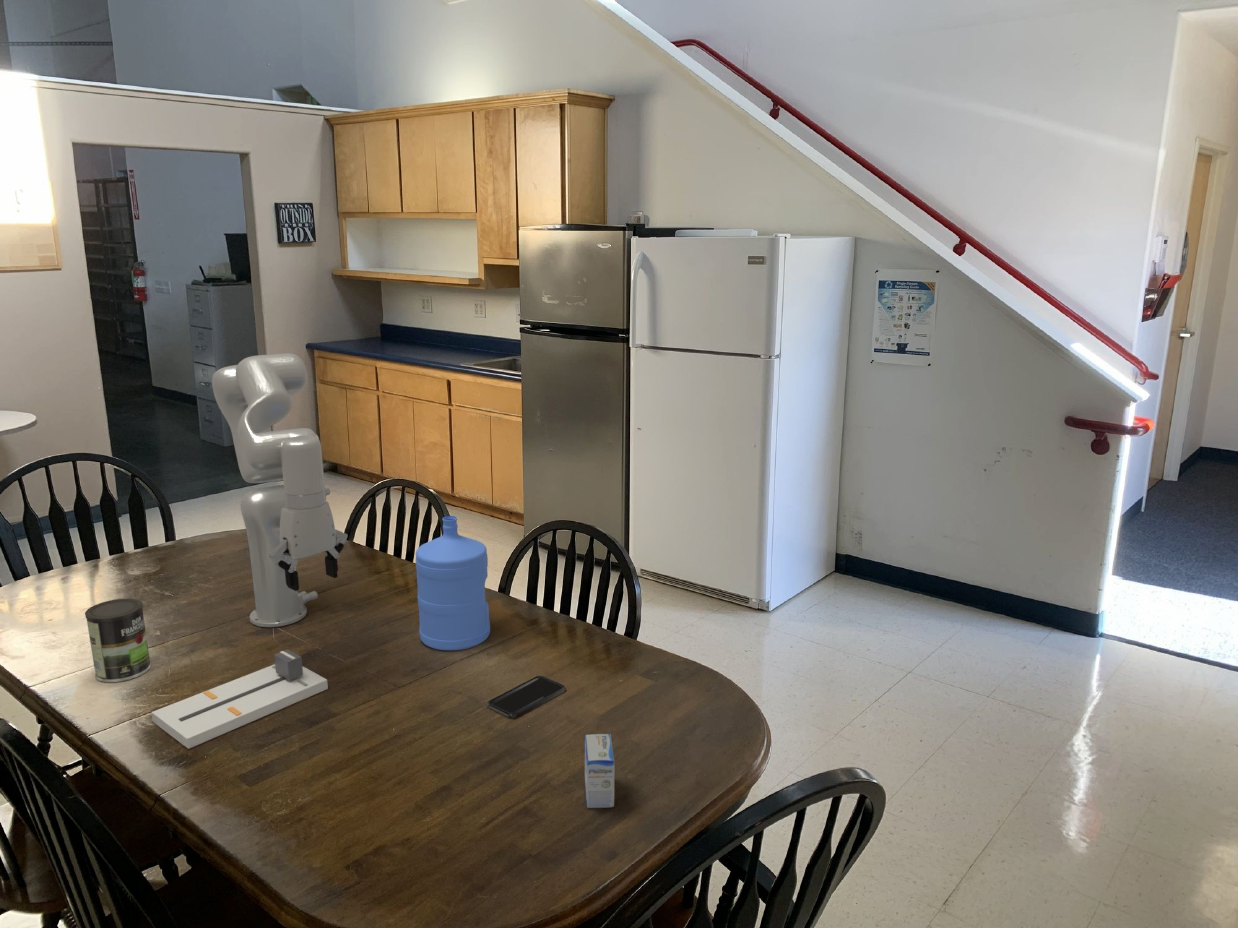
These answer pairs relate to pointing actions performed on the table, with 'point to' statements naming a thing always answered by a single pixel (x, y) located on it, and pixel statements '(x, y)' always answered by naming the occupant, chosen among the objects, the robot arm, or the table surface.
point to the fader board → (235, 704)
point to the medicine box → (599, 771)
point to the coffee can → (118, 640)
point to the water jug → (452, 590)
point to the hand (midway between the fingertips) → (312, 582)
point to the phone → (525, 697)
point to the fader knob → (288, 664)
